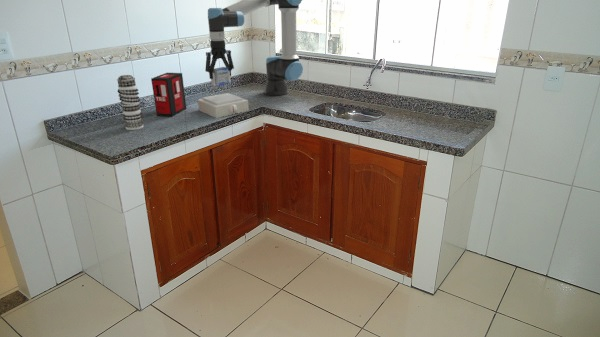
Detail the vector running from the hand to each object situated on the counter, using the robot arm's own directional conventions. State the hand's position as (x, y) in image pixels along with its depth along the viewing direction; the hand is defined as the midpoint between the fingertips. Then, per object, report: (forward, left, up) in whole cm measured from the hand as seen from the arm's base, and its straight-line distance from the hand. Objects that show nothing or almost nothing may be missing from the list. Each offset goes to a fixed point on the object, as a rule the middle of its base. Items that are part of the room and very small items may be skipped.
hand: (221, 83), depth 217 cm
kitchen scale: (0, 0, -15) cm, 15 cm away
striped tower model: (+48, -3, -15) cm, 50 cm away
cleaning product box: (+23, -16, -15) cm, 32 cm away
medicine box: (0, 0, -1) cm, 1 cm away
